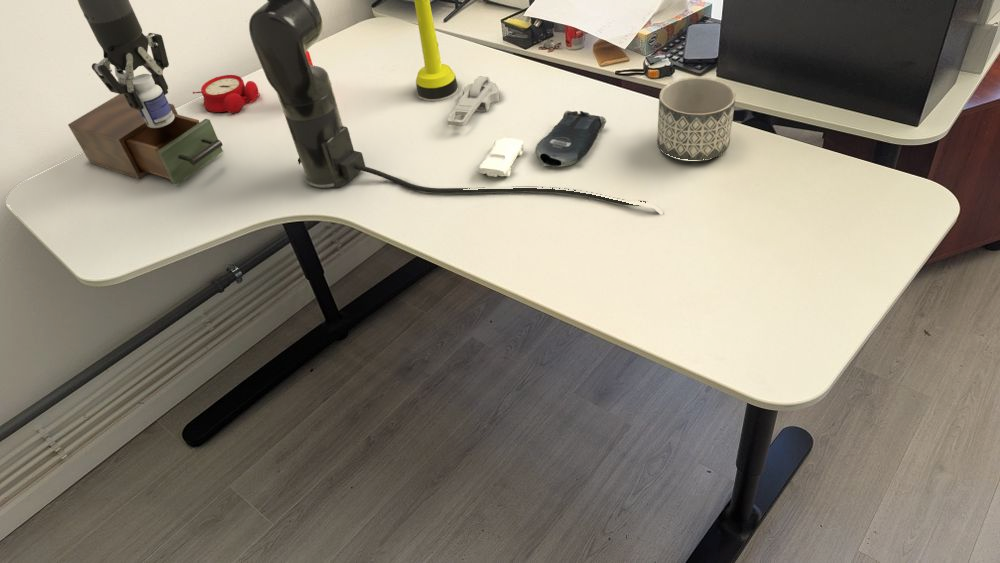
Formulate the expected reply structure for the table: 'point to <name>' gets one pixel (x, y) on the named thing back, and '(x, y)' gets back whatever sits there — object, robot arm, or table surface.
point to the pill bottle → (152, 102)
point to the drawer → (175, 148)
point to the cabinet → (110, 135)
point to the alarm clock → (228, 93)
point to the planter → (695, 118)
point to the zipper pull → (474, 100)
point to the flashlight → (432, 60)
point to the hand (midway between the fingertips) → (151, 100)
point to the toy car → (501, 157)
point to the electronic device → (570, 139)
